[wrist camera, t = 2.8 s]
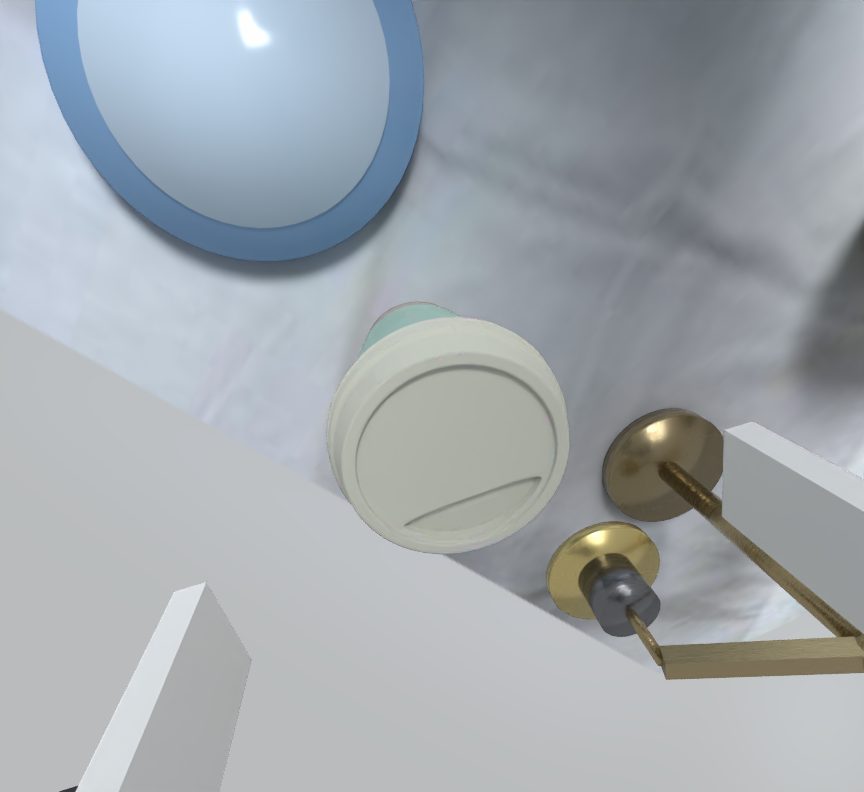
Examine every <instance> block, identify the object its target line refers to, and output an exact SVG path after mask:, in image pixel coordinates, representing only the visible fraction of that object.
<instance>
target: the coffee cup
mask: <svg viewBox="0 0 864 792" xmlns="http://www.w3.org/2000/svg"><path fill="white" fill-rule="evenodd" d="M569 442H570V436H569V427H568V422H567V411H566V405H565V400H564V397H563V394H562V391H561V388H560V386H559V383H558V381H557V380H556V378H555V376H554V374H553V372H552V370H551V369H550V367H549V365H548V364H547V362H546V361H545V359H544V358H543V357H542V356H541V354H540V353H539V352H538V351H537V350H536V349H535V348H534V347H533V346H532V345H531V344H530V343H528V342H527V341H526V340H525V339H523V338H522V337H520V336H519V335H517V334H516V333H514V332H512V331H511V330H509V329H507V328H504V327H502V326H500V325H497V324H494V323H491V322H488V321H484V320H480V319H474V318H466V317H461V316H459V315H457V314H455V313H452V312H450V311H448V310H446V309H444V308H441V307H439V306H437V305H434V304H430V303H425V302H410V303H405V304H401V305H398V306H396V307H394V308H392V309H390V310H388V311H387V312H386V313H384V314H383V315H382V316H381V317H380V318H379V319H378V320H377V321H376V322H375V324H374V325H373V327H372V328H371V330H370V332H369V334H368V336H367V338H366V341H365V343H364V345H363V348H362V350H361V352H360V355H359V357H358V359H357V360H356V361H355V362H354V364H353V365H352V366H351V367H350V369H349V370H348V371H347V373H346V374H345V376H344V377H343V379H342V380H341V382H340V384H339V386H338V388H337V390H336V392H335V394H334V397H333V400H332V403H331V406H330V410H329V414H328V420H327V448H328V453H329V458H330V462H331V466H332V469H333V473H334V476H335V478H336V481H337V483H338V485H339V487H340V489H341V490H342V492H343V494H344V495H345V497H346V498H347V499H348V501H349V502H350V503H351V504H352V506H353V507H354V509H355V511H356V512H357V513H358V515H359V516H360V518H361V519H362V520H363V521H364V522H365V523H366V524H367V525H368V526H369V527H370V528H371V529H373V530H374V531H375V532H376V533H377V534H379V535H380V536H382V537H383V538H385V539H387V540H389V541H390V542H392V543H395V544H397V545H399V546H402V547H404V548H407V549H410V550H414V551H419V552H424V553H432V554H455V553H464V552H469V551H474V550H478V549H481V548H484V547H487V546H490V545H493V544H495V543H497V542H499V541H502V540H504V539H506V538H508V537H510V536H511V535H513V534H514V533H516V532H517V531H519V530H520V529H522V528H523V527H525V526H526V525H527V524H528V523H529V522H530V521H532V520H533V519H534V518H535V517H536V516H537V515H538V514H539V513H540V512H541V511H542V510H543V508H544V507H545V506H546V505H547V504H548V502H549V501H550V499H551V498H552V496H553V495H554V493H555V492H556V490H557V488H558V486H559V484H560V482H561V480H562V477H563V475H564V472H565V469H566V465H567V461H568V455H569Z"/></svg>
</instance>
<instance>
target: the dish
mask: <svg viewBox="0 0 864 792" xmlns="http://www.w3.org/2000/svg"><path fill="white" fill-rule="evenodd" d="M35 8H36V23H37V32H38V38H39V43H40V48H41V54H42V59H43V62H44V66H45V69H46V72H47V75H48V79H49V82H50V85H51V89H52V91H53V93H54V96H55V98H56V100H57V103H58V105H59V107H60V110H61V112H62V114H63V117H64V119H65V121H66V122H67V124H68V126H69V128H70V130H71V131H72V133H73V135H74V137H75V139H76V140H77V142H78V144H79V145H80V147H81V148H82V150H83V151H84V153H85V154H86V155H87V157H88V158H89V160H90V161H91V163H92V164H93V165H94V167H95V168H96V169H97V171H98V172H99V173H100V174H101V175H102V176H103V177H104V179H105V180H106V181H107V182H108V183H109V184H110V186H111V187H112V188H113V189H114V190H115V191H116V192H117V193H118V194H119V195H120V196H121V197H122V198H123V199H124V200H126V201H127V202H128V203H129V204H130V205H131V206H132V207H133V208H134V209H135V210H137V211H138V212H139V213H141V214H142V215H143V216H144V217H146V218H147V219H148V220H150V221H151V222H152V223H154V224H155V225H157V226H158V227H160V228H161V229H163V230H165V231H166V232H168V233H170V234H171V235H173V236H175V237H176V238H178V239H181V240H183V241H185V242H187V243H189V244H191V245H193V246H195V247H198V248H200V249H203V250H206V251H209V252H212V253H215V254H218V255H222V256H226V257H231V258H236V259H241V260H251V261H264V262H265V261H284V260H291V259H296V258H301V257H306V256H309V255H312V254H315V253H318V252H321V251H324V250H326V249H328V248H330V247H332V246H334V245H336V244H338V243H340V242H342V241H344V240H346V239H347V238H348V237H350V236H351V235H353V234H354V233H356V232H357V231H359V230H360V229H361V228H362V227H363V226H364V225H365V224H367V223H368V222H369V221H370V220H371V219H372V218H373V217H374V216H375V215H376V214H377V213H378V212H379V210H380V209H381V208H382V207H383V206H384V204H385V203H386V202H387V201H388V199H389V198H390V197H391V195H392V193H393V192H394V190H395V188H396V187H397V185H398V184H399V182H400V180H401V178H402V176H403V174H404V172H405V170H406V167H407V165H408V163H409V161H410V158H411V155H412V152H413V149H414V146H415V142H416V139H417V136H418V131H419V125H420V120H421V115H422V106H423V92H424V75H423V56H422V49H421V42H420V35H419V29H418V26H417V22H416V18H415V14H414V10H413V6H412V2H411V0H35Z"/></svg>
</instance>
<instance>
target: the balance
mask: <svg viewBox="0 0 864 792" xmlns="http://www.w3.org/2000/svg"><path fill="white" fill-rule="evenodd" d="M723 449H724V439H723V436H722V435H721V433H720V431H719V430H718V429H717V428H716V427H715V426H714V425H713V424H711V423H710V422H708V421H707V420H705V419H703V418H702V417H700V416H699V415H697V414H695V413H693V412H691V411H688V410H684V409H676V408H670V409H662V410H658V411H654V412H652V413H649V414H647V415H644V416H642V417H640V418H639V419H637V420H636V421H634V422H633V423H631V424H630V425H629V426H627V427H626V428H625V429H624V430H623V431H622V432H621V433H620V434H619V435H618V437H617V438H616V439H615V440H614V442H613V443H612V445H611V447H610V448H609V450H608V452H607V455H606V457H605V460H604V464H603V471H602V478H603V484H604V487H605V490H606V492H607V494H608V495H609V496H610V498H611V499H612V500H613V501H614V502H615V504H616V505H617V506H618V507H619V508H620V509H621V510H622V511H623V512H624V513H625V514H626V515H628V516H630V517H632V518H634V519H637V520H641V521H648V522H657V521H664V520H668V519H671V518H674V517H677V516H679V515H682V514H684V513H686V512H687V511H689V510H691V509H692V508H694V509H695V510H696V511H697V512H699V513H700V514H701V515H702V516H703V517H704V518H705V519H706V520H707V521H709V522H710V523H711V524H712V525H713V526H714V527H715V528H716V529H717V530H719V531H720V532H721V533H722V534H723V535H724V536H725V537H726V538H727V539H729V540H730V541H731V542H732V543H733V544H734V545H735V546H736V547H737V548H739V549H740V550H741V551H742V552H743V553H744V554H745V555H746V556H747V557H749V558H750V559H751V560H752V561H753V562H754V563H755V564H756V565H758V566H759V567H760V568H761V569H762V570H763V571H764V572H765V573H766V574H768V575H769V576H770V577H771V578H772V579H773V580H774V581H775V582H776V583H778V584H779V585H780V586H781V587H782V588H783V589H784V590H785V591H786V592H788V593H789V594H790V595H791V596H792V597H793V598H794V599H795V600H796V601H798V602H799V603H800V604H801V605H802V606H803V607H804V608H805V609H807V610H808V611H809V612H810V613H811V614H812V615H813V616H814V617H815V618H817V619H818V620H819V621H820V622H821V623H822V624H823V625H824V626H825V627H827V628H828V629H829V630H830V631H831V632H832V633H833V634H834V635H836V636H837V637H835V638H817V639H795V640H773V641H754V642H732V643H711V644H690V645H670V646H659V645H658V644H657V642H656V641H655V639H654V638H653V636H652V635H651V634H650V632H649V631H648V629H647V627H648V626H649V625H650V624H651V623H652V622H653V621H654V620H655V619H656V617H657V615H658V613H659V611H660V600H659V598H658V596H657V595H656V594H655V592H654V591H653V590H652V589H651V585H652V584H653V582H654V580H655V578H656V576H657V573H658V570H659V562H660V559H659V553H658V550H657V548H656V546H655V544H654V543H653V542H652V540H651V539H650V538H649V537H648V536H647V535H646V534H645V532H643V531H642V530H641V529H640V528H638V527H636V526H634V525H632V524H629V523H625V522H618V521H611V522H602V523H598V524H594V525H591V526H589V527H586V528H584V529H582V530H580V531H578V532H577V533H575V534H573V535H572V536H571V537H569V538H568V539H567V540H566V541H565V542H563V543H562V544H561V546H560V547H559V548H558V549H557V550H556V552H555V553H554V554H553V556H552V558H551V560H550V562H549V565H548V567H547V572H546V584H547V588H548V590H549V592H550V594H551V596H552V598H553V600H554V602H555V604H556V605H557V607H558V608H560V609H561V610H562V611H563V612H565V613H566V614H568V615H571V616H574V617H577V618H583V619H596V618H597V620H598V622H599V623H600V625H601V627H602V629H603V630H604V631H605V632H606V633H608V634H610V635H612V636H617V637H625V636H630V635H633V634H636V633H637V634H638V636H639V637H640V639H641V640H642V642H643V643H644V645H645V646H646V648H647V649H648V651H649V653H650V654H651V656H652V657H653V659H654V660H655V662H656V663H657V665H658V666H661V667H662V670H663V672H664V675H665V678H666V679H669V680H670V679H697V678H698V679H699V678H726V677H756V676H785V675H813V674H843V673H864V634H863V633H862V632H861V631H859V630H858V629H857V628H856V627H855V626H853V625H852V624H851V623H850V622H849V621H847V620H846V619H845V618H844V617H843V616H841V615H840V614H839V613H838V612H836V611H835V610H834V609H833V608H832V607H830V606H829V605H828V604H827V603H826V602H824V601H823V600H822V599H821V598H820V597H818V596H817V595H816V594H815V593H814V592H812V591H811V590H810V589H809V588H807V587H806V586H805V585H804V584H803V583H801V582H800V581H799V580H798V579H797V578H795V577H794V576H793V575H792V574H791V573H789V572H788V571H787V570H786V569H785V568H783V567H782V566H781V565H780V564H779V563H777V562H776V561H775V560H774V559H772V558H771V557H770V556H769V555H768V554H766V553H765V552H764V551H763V550H762V549H760V548H759V547H758V546H757V545H756V544H754V543H753V542H752V541H751V540H750V539H748V538H747V537H746V536H745V535H743V534H742V533H741V532H740V531H739V530H737V529H736V528H735V527H734V526H733V525H731V524H730V523H729V522H728V521H727V520H725V519H724V518H723V517H722V500H721V499H720V498H719V497H718V496H716V495H715V494H714V493H713V492H711V491H712V490H713V488H714V487H715V485H716V484H717V482H718V481H719V479H720V477H721V475H722V472H723Z"/></svg>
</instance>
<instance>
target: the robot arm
mask: <svg viewBox="0 0 864 792" xmlns="http://www.w3.org/2000/svg"><path fill="white" fill-rule="evenodd" d="M722 517H723V518H724V519H725V520H727V521H728V522H729V523H730V524H731V525H733V526H734V527H735V528H736V529H737V530H739V531H740V532H741V533H742V534H743V535H745V536H746V537H747V538H748V539H750V540H751V541H752V542H753V543H754V544H756V545H757V546H758V547H759V548H760V549H762V550H763V551H764V552H765V553H766V554H768V555H769V556H770V557H771V558H772V559H774V560H775V561H776V562H777V563H779V564H780V565H781V566H782V567H783V568H785V569H786V570H787V571H788V572H789V573H791V574H792V575H793V576H794V577H795V578H797V579H798V580H799V581H800V582H801V583H803V584H804V585H805V586H806V587H807V588H809V589H810V590H811V591H812V592H814V593H815V594H816V595H817V596H818V597H820V598H821V599H822V600H823V601H824V602H826V603H827V604H828V605H829V606H830V607H832V608H833V609H834V610H835V611H836V612H838V613H839V614H840V615H841V616H843V617H844V618H845V619H846V620H847V621H849V622H850V623H851V624H852V625H853V626H855V627H856V628H857V629H858V630H859V631H861V632H862V633H863V634H864V479H862V478H860V477H858V476H856V475H854V474H852V473H850V472H849V471H847V470H845V469H843V468H841V467H839V466H837V465H835V464H833V463H831V462H829V461H827V460H826V459H824V458H822V457H820V456H818V455H816V454H814V453H812V452H810V451H808V450H806V449H804V448H802V447H801V446H799V445H797V444H795V443H793V442H791V441H789V440H787V439H785V438H783V437H781V436H779V435H778V434H776V433H774V432H772V431H770V430H768V429H766V428H764V427H762V426H760V425H758V424H756V423H755V422H753V421H752V422H749V423H745V424H742V425H738V426H735V427H732V428H728V429H725V430H724V449H723V491H722ZM251 660H252V659H251V658H250V656H249V654H248V652H247V651H246V649H245V647H244V645H243V644H242V642H241V640H240V639H239V637H238V635H237V634H236V632H235V630H234V628H233V627H232V625H231V623H230V622H229V620H228V618H227V616H226V615H225V613H224V612H223V610H222V608H221V606H220V605H219V603H218V601H217V599H216V598H215V596H214V594H213V593H212V591H211V589H210V587H209V586H208V584H207V582H205V583H202V584H198V585H195V586H192V587H188V588H185V589H181V590H178V591H174V593H173V595H172V597H171V600H170V601H169V603H168V606H167V608H166V610H165V612H164V614H163V616H162V618H161V620H160V622H159V624H158V626H157V628H156V630H155V632H154V634H153V636H152V638H151V640H150V642H149V644H148V646H147V648H146V650H145V652H144V654H143V656H142V658H141V660H140V662H139V664H138V666H137V668H136V670H135V672H134V674H133V676H132V678H131V680H130V682H129V685H128V686H127V689H126V690H125V693H124V695H123V697H122V699H121V701H120V703H119V705H118V707H117V709H116V711H115V713H114V715H113V717H112V719H111V721H110V723H109V725H108V727H107V729H106V731H105V733H104V735H103V737H102V739H101V741H100V743H99V745H98V747H97V749H96V751H95V753H94V755H93V757H92V759H91V761H90V763H89V765H88V768H87V769H86V772H85V773H84V776H83V778H82V780H81V782H80V784H79V786H75V787H73V788H69V789H66V790H63V791H60V792H219V791H220V787H221V783H222V779H223V775H224V771H225V767H226V763H227V759H228V755H229V750H230V746H231V742H232V738H233V734H234V730H235V725H236V722H237V718H238V713H239V709H240V705H241V701H242V697H243V693H244V689H245V685H246V681H247V677H248V672H249V668H250V664H251Z"/></svg>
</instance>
